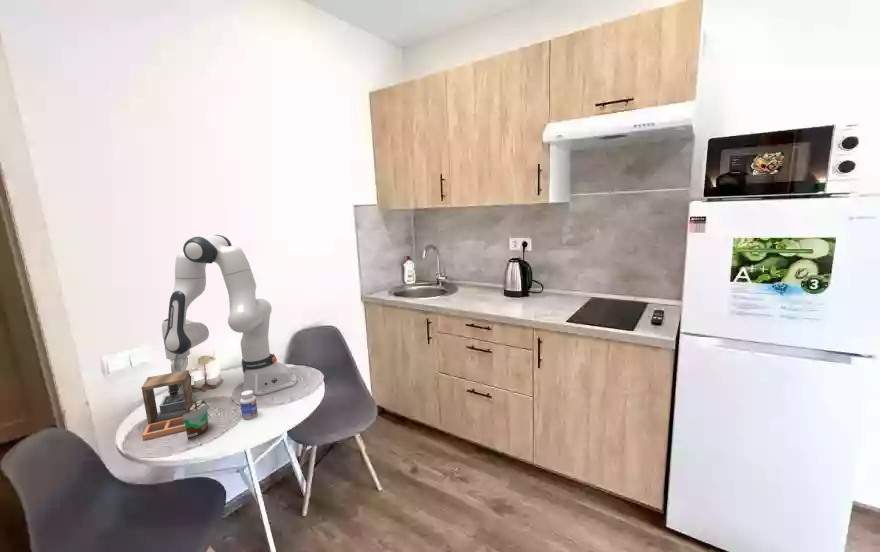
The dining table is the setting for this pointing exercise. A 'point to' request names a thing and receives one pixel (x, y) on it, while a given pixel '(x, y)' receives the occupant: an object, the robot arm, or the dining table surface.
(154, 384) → the tunnel
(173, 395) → the dark grey upright piece
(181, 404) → the grey piece
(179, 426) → the orange flat frame
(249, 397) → the pill bottle
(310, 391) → the dining table surface
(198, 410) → the food container
